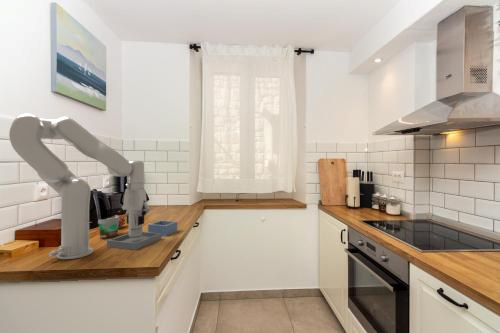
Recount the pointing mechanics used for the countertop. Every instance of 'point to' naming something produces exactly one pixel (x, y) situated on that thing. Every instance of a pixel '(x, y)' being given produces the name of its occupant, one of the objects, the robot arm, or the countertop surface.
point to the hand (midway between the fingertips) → (135, 223)
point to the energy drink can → (134, 224)
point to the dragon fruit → (120, 221)
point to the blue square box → (163, 227)
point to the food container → (108, 227)
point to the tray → (133, 241)
